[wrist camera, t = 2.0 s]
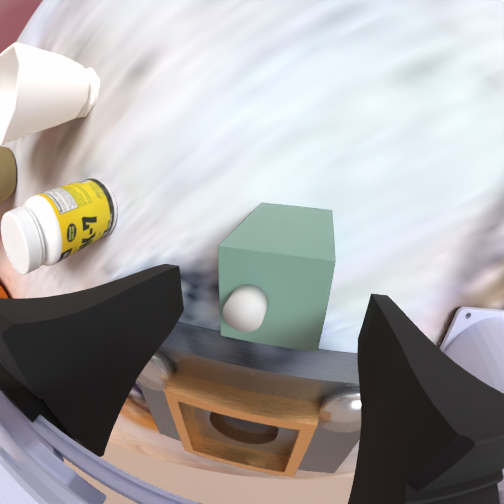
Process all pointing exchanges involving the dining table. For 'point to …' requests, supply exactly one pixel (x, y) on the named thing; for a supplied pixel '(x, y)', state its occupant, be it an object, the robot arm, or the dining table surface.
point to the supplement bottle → (58, 224)
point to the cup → (41, 91)
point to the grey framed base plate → (254, 401)
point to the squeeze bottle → (7, 173)
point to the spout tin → (277, 276)
